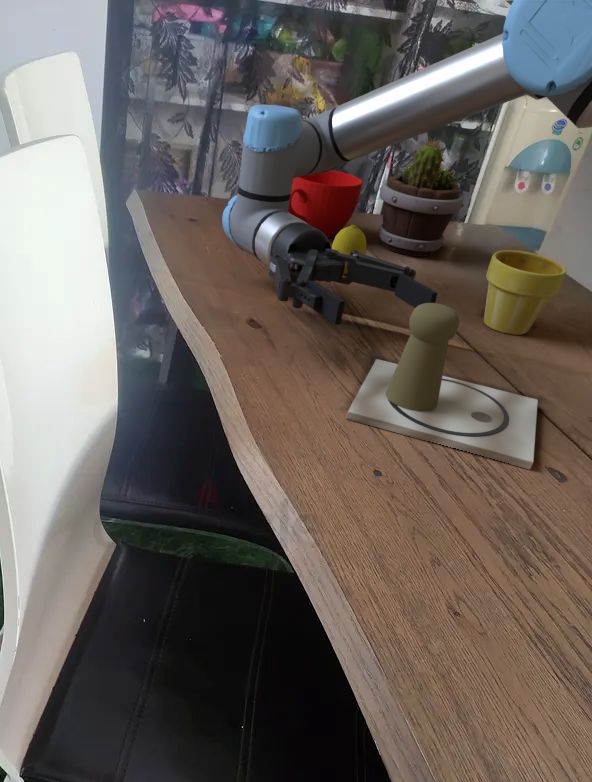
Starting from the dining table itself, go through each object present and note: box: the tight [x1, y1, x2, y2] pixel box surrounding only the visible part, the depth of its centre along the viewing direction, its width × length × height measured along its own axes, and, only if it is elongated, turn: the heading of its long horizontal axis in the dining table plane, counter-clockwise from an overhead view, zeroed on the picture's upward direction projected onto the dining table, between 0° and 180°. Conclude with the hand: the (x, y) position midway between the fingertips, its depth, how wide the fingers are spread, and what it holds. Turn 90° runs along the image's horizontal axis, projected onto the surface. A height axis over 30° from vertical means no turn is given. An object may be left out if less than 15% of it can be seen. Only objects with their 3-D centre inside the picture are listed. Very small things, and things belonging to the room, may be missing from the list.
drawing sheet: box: [346, 358, 539, 470], centre depth 85 cm, size 20×16×1 cm
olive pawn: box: [386, 302, 460, 411], centre depth 82 cm, size 6×6×11 cm
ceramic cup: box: [288, 170, 363, 239], centre depth 137 cm, size 13×17×10 cm
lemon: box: [331, 224, 367, 275], centre depth 120 cm, size 6×6×8 cm
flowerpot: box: [378, 134, 465, 257], centre depth 133 cm, size 14×15×20 cm
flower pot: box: [483, 249, 567, 336], centre depth 108 cm, size 10×10×10 cm
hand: (387, 308), depth 86 cm, fingers open, 13 cm apart
